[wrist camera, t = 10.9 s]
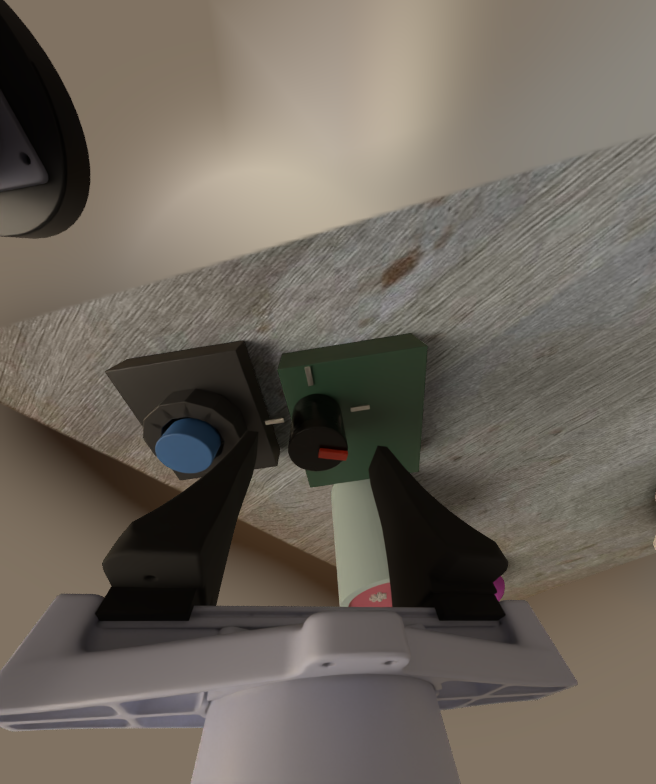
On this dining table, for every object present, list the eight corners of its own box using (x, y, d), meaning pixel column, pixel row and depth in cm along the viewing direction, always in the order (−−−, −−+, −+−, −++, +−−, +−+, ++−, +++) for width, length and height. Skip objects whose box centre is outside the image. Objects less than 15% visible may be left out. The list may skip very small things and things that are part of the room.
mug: (314, 489, 26) (316, 604, 17) (387, 450, 24) (431, 560, 15) (375, 540, 32) (399, 644, 23) (438, 512, 30) (490, 618, 21)
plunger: (159, 421, 16) (143, 438, 15) (209, 413, 16) (199, 429, 15) (182, 458, 18) (170, 477, 16) (228, 451, 18) (220, 469, 16)
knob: (289, 430, 18) (284, 472, 14) (296, 389, 16) (291, 426, 13) (335, 435, 18) (341, 478, 15) (346, 397, 17) (355, 434, 13)
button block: (126, 359, 18) (80, 383, 14) (244, 339, 17) (227, 360, 14) (190, 462, 23) (169, 498, 20) (280, 448, 23) (274, 482, 19)
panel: (258, 357, 18) (248, 375, 15) (411, 332, 18) (429, 346, 15) (292, 465, 24) (289, 492, 21) (407, 448, 24) (419, 473, 21)
